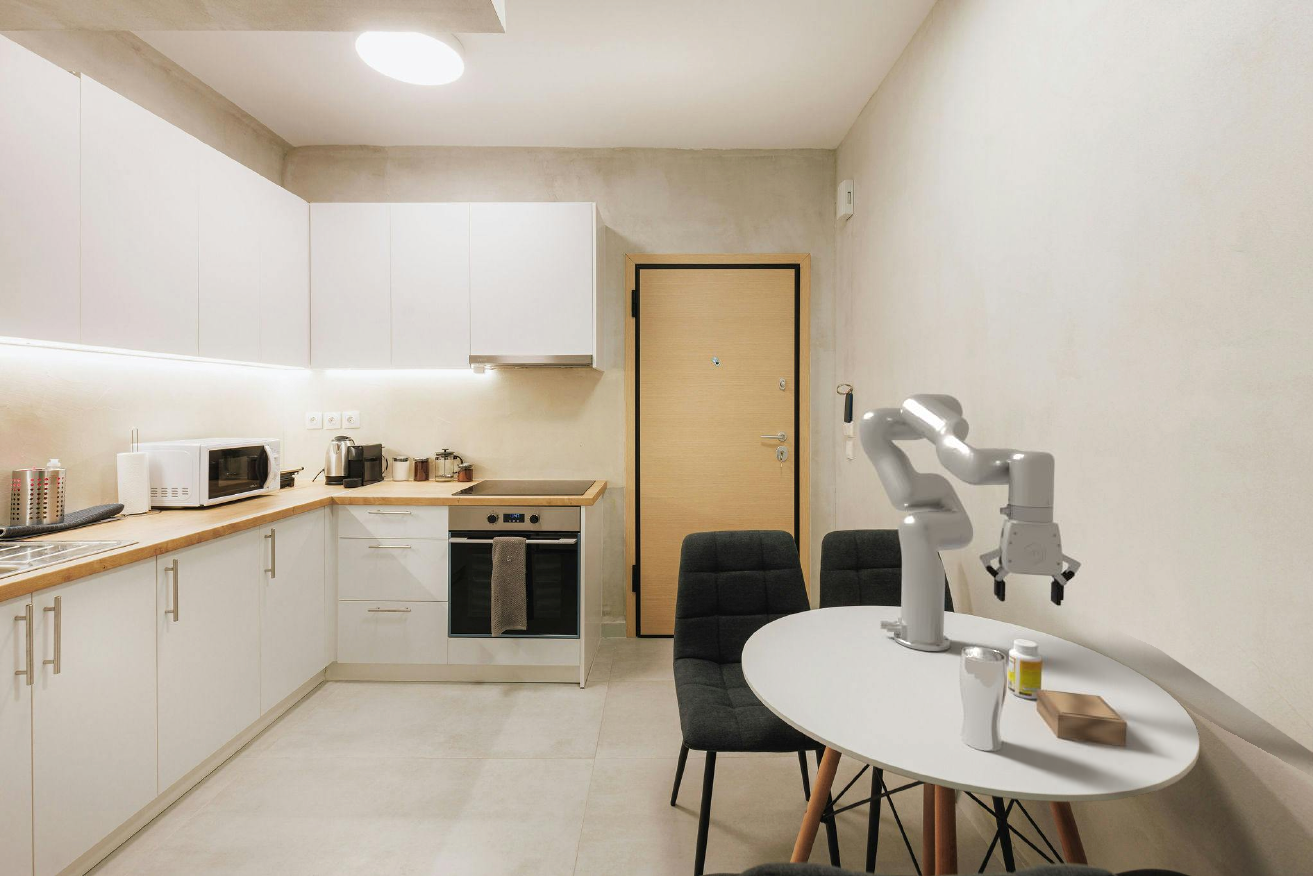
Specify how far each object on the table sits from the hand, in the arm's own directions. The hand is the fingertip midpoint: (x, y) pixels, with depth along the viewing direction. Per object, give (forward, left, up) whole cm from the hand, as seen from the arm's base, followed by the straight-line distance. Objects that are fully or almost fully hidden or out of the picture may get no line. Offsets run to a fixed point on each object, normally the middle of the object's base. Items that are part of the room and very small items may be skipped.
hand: (1027, 601), depth 119 cm
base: (+5, -12, -18) cm, 23 cm away
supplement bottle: (0, 0, -19) cm, 19 cm away
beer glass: (-13, -22, -19) cm, 32 cm away
